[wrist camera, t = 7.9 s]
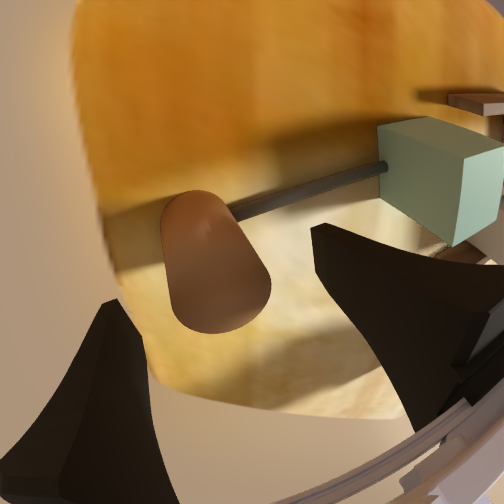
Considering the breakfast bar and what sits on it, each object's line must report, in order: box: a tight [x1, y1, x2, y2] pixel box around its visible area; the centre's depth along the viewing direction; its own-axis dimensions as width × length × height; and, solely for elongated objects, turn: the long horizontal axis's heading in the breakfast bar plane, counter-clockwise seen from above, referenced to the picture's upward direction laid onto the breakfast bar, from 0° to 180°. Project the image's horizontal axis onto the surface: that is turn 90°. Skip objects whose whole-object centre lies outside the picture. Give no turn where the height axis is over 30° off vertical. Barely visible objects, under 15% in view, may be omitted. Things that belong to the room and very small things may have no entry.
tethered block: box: [160, 117, 504, 334], centre depth 13 cm, size 4×17×6 cm, turn 103°
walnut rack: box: [436, 93, 504, 265], centre depth 18 cm, size 14×10×3 cm
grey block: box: [465, 195, 504, 265], centre depth 19 cm, size 4×4×6 cm
